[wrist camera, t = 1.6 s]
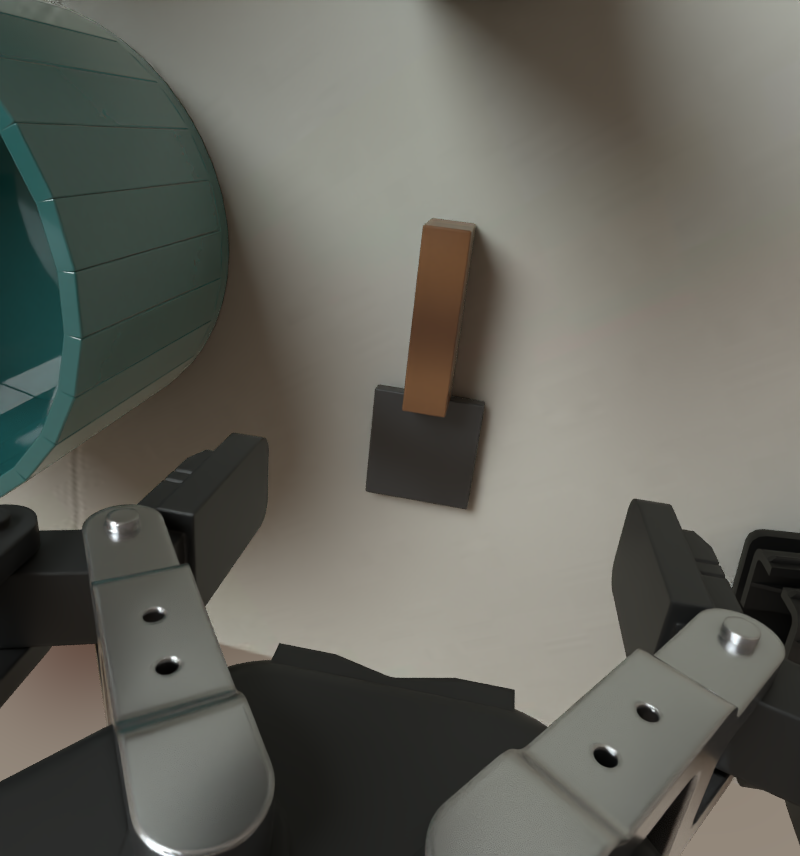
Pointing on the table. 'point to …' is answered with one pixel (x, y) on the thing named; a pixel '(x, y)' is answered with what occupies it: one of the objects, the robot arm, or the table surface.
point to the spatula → (430, 385)
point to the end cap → (771, 588)
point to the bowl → (94, 235)
